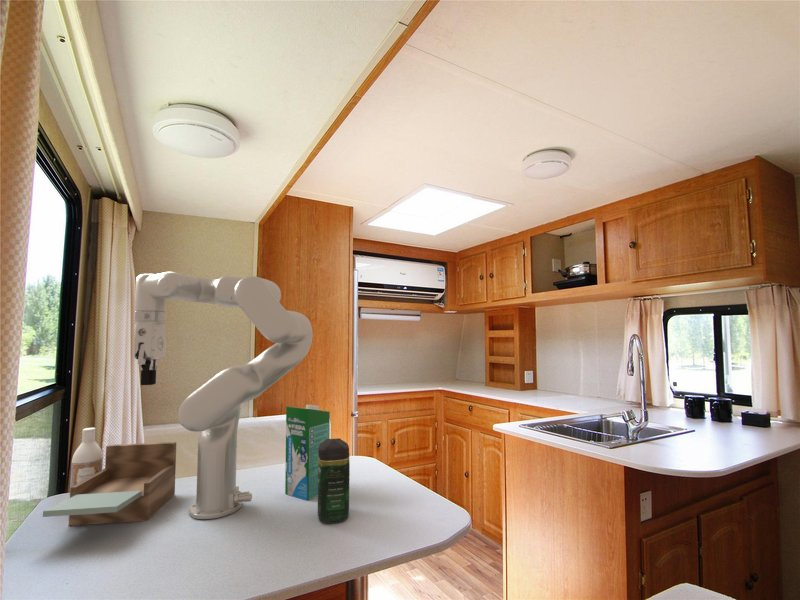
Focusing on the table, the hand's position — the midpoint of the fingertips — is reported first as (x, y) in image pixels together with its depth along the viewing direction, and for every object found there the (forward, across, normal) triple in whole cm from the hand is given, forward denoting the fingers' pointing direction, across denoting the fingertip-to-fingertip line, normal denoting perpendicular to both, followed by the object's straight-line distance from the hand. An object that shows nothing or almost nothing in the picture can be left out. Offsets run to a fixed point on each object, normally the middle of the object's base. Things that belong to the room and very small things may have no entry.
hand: (148, 384), depth 111 cm
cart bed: (+32, -1, +4) cm, 33 cm away
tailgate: (+26, -9, +4) cm, 28 cm away
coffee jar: (+33, -16, -50) cm, 62 cm away
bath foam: (+33, +7, +18) cm, 38 cm away
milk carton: (+33, +2, -43) cm, 54 cm away
